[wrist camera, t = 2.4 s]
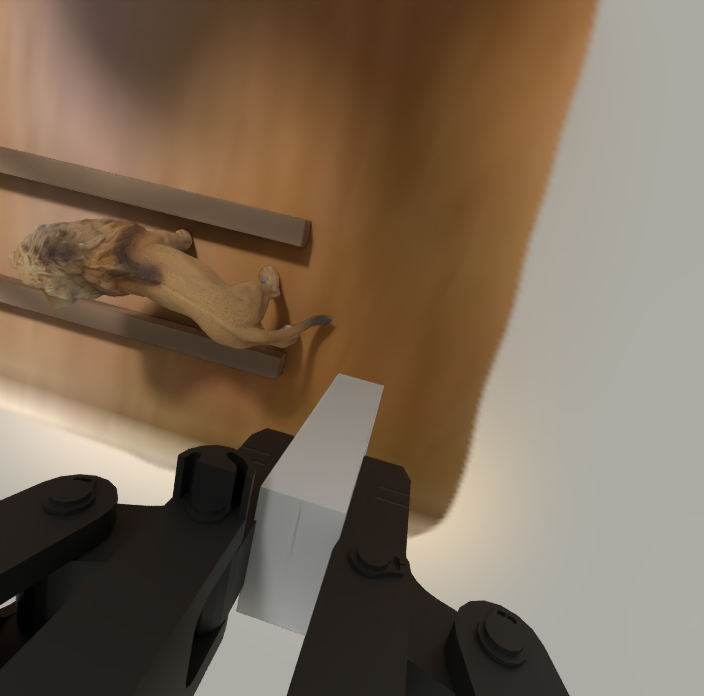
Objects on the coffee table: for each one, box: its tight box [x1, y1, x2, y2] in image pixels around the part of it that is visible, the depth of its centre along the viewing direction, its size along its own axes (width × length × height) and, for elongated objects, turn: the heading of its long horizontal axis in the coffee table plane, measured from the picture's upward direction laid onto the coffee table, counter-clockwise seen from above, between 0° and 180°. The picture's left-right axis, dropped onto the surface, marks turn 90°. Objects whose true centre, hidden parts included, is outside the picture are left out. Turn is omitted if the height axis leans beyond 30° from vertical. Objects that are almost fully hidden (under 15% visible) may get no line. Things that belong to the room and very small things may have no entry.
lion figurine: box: [9, 218, 332, 349], centre depth 23 cm, size 15×5×9 cm, turn 74°
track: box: [0, 147, 311, 380], centre depth 26 cm, size 10×32×4 cm, turn 77°
